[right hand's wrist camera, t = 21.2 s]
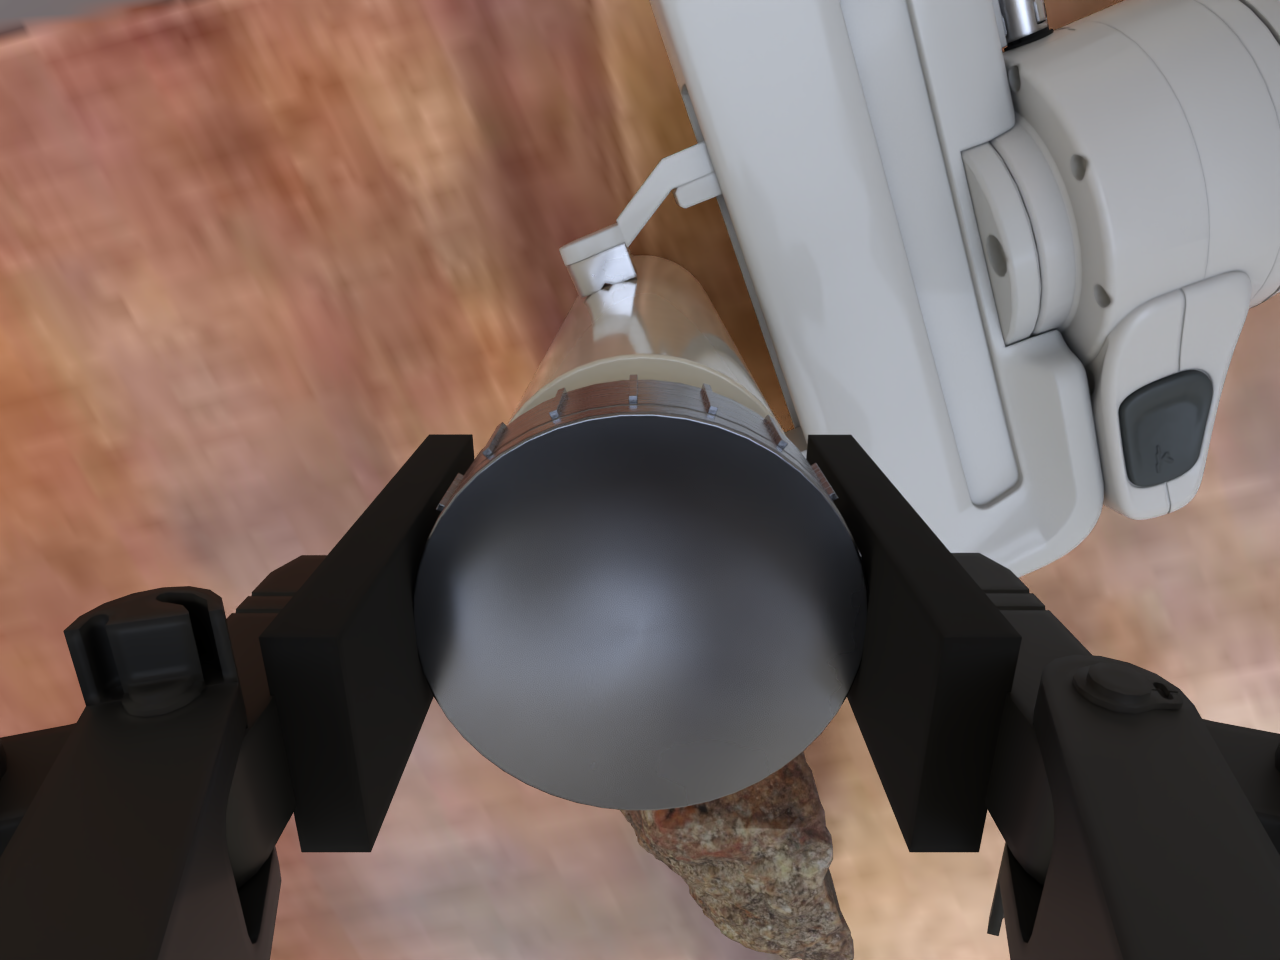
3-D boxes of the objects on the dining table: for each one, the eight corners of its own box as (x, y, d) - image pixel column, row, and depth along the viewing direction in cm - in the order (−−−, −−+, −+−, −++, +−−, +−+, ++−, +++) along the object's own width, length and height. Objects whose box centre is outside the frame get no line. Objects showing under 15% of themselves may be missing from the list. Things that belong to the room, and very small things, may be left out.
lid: (874, 384, 11) (914, 419, 9) (815, 745, 13) (840, 824, 11) (430, 361, 11) (393, 393, 9) (446, 730, 13) (419, 807, 11)
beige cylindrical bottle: (540, 317, 29) (392, 521, 12) (655, 223, 28) (677, 296, 11) (630, 426, 31) (616, 748, 13) (743, 341, 30) (887, 575, 12)
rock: (817, 601, 35) (593, 611, 35) (872, 712, 26) (577, 724, 26) (813, 868, 39) (612, 875, 39) (859, 1036, 30) (604, 1045, 31)
